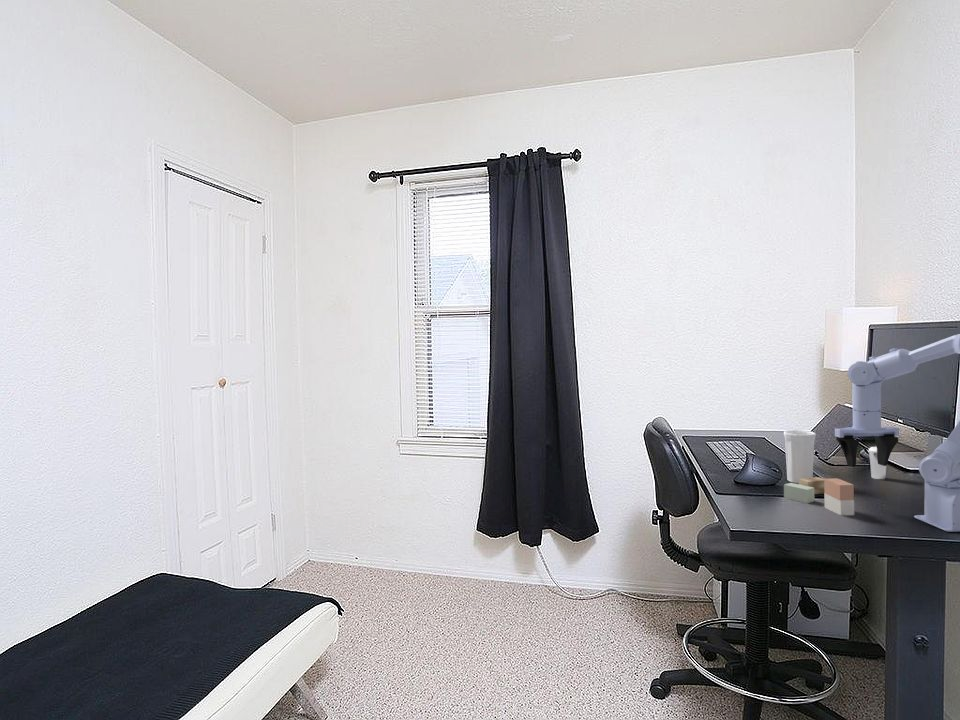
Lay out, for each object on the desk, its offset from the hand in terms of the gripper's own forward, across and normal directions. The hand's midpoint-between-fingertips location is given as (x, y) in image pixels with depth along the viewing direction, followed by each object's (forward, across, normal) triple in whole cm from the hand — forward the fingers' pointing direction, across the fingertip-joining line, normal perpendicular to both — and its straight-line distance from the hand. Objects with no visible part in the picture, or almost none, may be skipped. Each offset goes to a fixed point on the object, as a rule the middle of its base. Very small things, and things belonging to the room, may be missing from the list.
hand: (866, 465), depth 137 cm
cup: (+10, +4, -22) cm, 25 cm away
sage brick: (+10, +13, -6) cm, 18 cm away
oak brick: (+10, +6, -12) cm, 17 cm away
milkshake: (+10, -20, -24) cm, 33 cm away
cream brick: (+10, +9, +4) cm, 14 cm away
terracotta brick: (+6, +9, +4) cm, 12 cm away
